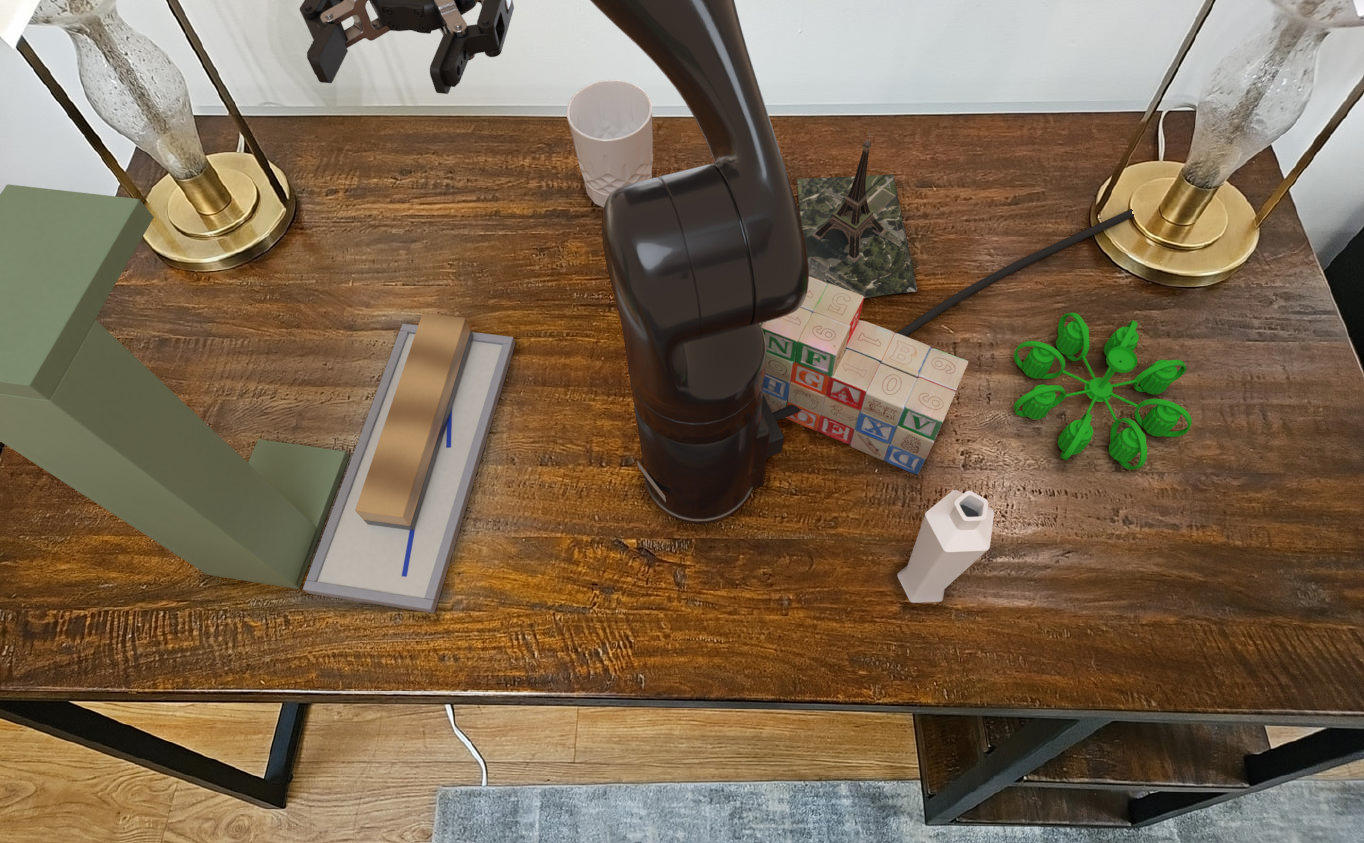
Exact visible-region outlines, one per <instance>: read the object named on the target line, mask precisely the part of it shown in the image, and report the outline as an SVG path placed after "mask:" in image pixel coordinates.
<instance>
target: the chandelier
mask: <svg viewBox="0 0 1364 843" xmlns="http://www.w3.org/2000/svg"><path fill="white" fill-rule="evenodd" d="M1069 317H1072V319H1074V320H1072V321H1070V322H1069V323H1068V324H1067V325H1065V324H1066V321H1067V319H1068V318H1069ZM1138 325H1139V322H1138V321H1136V320H1134V319H1132V320H1130V321H1129V323H1128V324H1127V325H1126V326H1121V327H1119V328H1118V329H1117V330H1115V331H1114V332H1113V333H1112V334H1111V335H1110V337H1109V338H1108V340H1107V341H1106V343H1105V344H1104V347H1103V353H1104V355H1105V356H1106V358H1105V361H1106V363H1105V364H1106V365H1107V366H1108V367H1107V370H1106V371H1105V373H1104V376H1103V377H1096V375H1095V373H1094V371H1093V369H1092V368H1091V365H1090V363H1089V361H1088V359H1087V356H1088V354H1089V350H1090V328H1089V326H1088V325H1087V324H1086V322H1085V320H1084V319H1083V317H1082V316H1081V315H1079V314H1078V313H1076V312H1072V311H1071V312H1067V313H1064V314H1063V315H1062V316H1060V318H1059V321H1058V325H1057V339H1056V341H1055V347H1056V348H1057V349H1056V348H1055V347H1054V346H1052V345H1050V344H1048V343H1045V342H1043V341H1038V340H1026V341H1024V342H1021V343H1019V344H1018V346H1017V347H1016V349H1015V350H1014V353H1013V359H1014V362H1015V364H1016V365H1017V366H1018V367H1019V369H1020V370H1022V371H1023V373H1024V374H1025V375H1026V376H1027V377H1029V378H1030V379H1036V380H1037V379H1042V380H1053V379H1056V378H1058V377H1060V376H1061V375H1062V374H1064V375H1065V376H1069V377H1070V378H1072V379H1075V380H1076V381H1079V382H1082V383H1083V384H1085V385H1084V390H1080V391H1075V392H1070V393H1069V392H1068V393H1066V391H1065V388H1064V387H1063V386H1062V385H1059V384H1050V385H1047V384H1038V385H1036V386H1034V387H1033V388H1032V389H1031V390H1030V391H1029V392H1027V393H1025V394H1024V395H1022V396H1021V397H1019V398H1018V399H1017V400H1016V401H1015V402H1014V404H1013V410H1014V413H1015V414H1016V416H1018V417H1022V418H1023V417H1024V418H1026V417H1027V418H1028V419H1030V420H1041V419H1043V418H1046V416H1048V414H1049V412H1050V411H1051V410H1052V409H1054V408H1055V407H1058V406H1059V405H1060V404H1061V403H1062V402H1063V401H1064V400H1065V399H1066V398H1069V397H1074V396H1079V395H1083V394H1086V395H1087V397H1088V398H1089V399H1091V402H1090V403H1089V405H1088V408H1087V410H1086V412H1084V414H1083V415H1082V417H1081V418H1080V419H1075V420H1073V421H1072V422H1070V423H1068V425H1067V426H1066V427H1064V429H1063V430H1062V432H1060V434H1059V435H1058V436H1057V438H1058V439H1057V445H1058V448H1059V449H1060V450H1061V453H1060V456H1059V457H1060V459H1062V460H1063V461H1068V460H1069V459H1070V458H1071V456H1074V455H1078V454H1081V453H1082V452H1083V450H1084V449H1085V448H1086V447H1087V446H1088V445H1089V443H1091V441H1092V438H1093V435H1094V429H1093V428H1094V427H1093V426H1092V425H1091V421H1092V419H1093V414H1091V411H1092V409H1093V407H1094V405H1095V403H1096V402H1098V403H1105V405H1106V408H1107V410H1108V411H1109V413H1110V415H1111V416H1112V419H1113V421H1114V422H1113V423H1112V424H1111V427H1110V431H1109V439H1110V442H1109V445H1108V453H1109V455H1110V457H1111V458H1113V459H1114V460H1115V461H1117V462H1118V463H1119V464H1120V465H1121V466H1122V468H1124V469H1127V470H1130V471H1133V470H1139V469H1140V468H1142V467H1144V465H1145V464H1146V462H1147V458H1148V445H1147V436H1146V434H1145V432H1146V433H1147V434H1149V435H1151V436H1153V437H1166V438H1178V437H1182V436H1184V435H1186V434H1187V433H1188V432H1189V431H1190V430H1191V427H1192V424H1193V419H1192V417H1191V414H1190V412H1188V411H1187V409H1185V408H1183V406H1181V405H1179V404H1177V403H1175V402H1173V401H1170V400H1167V399H1162V398H1148V399H1145V400H1142V401H1141V402H1139V403H1138V404H1137V403H1135V402H1134V401H1132V400H1128V399H1126V398H1124V397H1122V396H1120V395H1118V394H1116V393H1113V388H1117V387H1121V386H1127V385H1131V384H1132V387H1133V388H1134V390H1135V391H1136V392H1139V393H1147V394H1149V395H1154V396H1156V395H1160V394H1162V393H1164V392H1165V391H1166V389H1168V387H1169V386H1171V384H1172V383H1174V382H1175V381H1177V380H1179V379H1180V378H1181V377H1183V375H1184V374H1185V373H1186V371H1187V366H1186V364H1185V362H1184V360H1181V359H1171V360H1167V359H1158V360H1156V362H1154V363H1151V364H1150V365H1149V367H1148V368H1146V369H1144V370H1143V371H1141V372H1140V373H1139V374H1138V375H1137V376H1136V377H1135V378H1134V379H1131V380H1127V381H1123V382H1117V383H1113V384H1112V383H1111V382H1110V380H1111V379H1112V378H1113V376H1114V375H1115V374H1116V373H1120V374H1128V373H1130V372H1132V371H1133V370H1134V369H1135V368H1136V366H1137V365H1138V361H1139V360H1138V357H1137V354H1136V353H1135V352H1134V350H1135V349H1136V347H1137V346H1138V342H1139V339H1140V337H1139V333H1138V331H1136V330H1137V328H1138ZM1027 347H1033V348H1031V349H1030V350H1029V352H1028V353H1027V355H1026V356H1025V359H1024V360H1023V361H1022V360H1021V358H1020V356H1019V351H1020V350H1021V349H1023V348H1027ZM1080 351H1081V353H1080V354H1079V356H1078V357H1076V356H1074V355H1076V354H1078V353H1079V352H1080ZM1064 356H1065V358H1067V359H1068V360H1070V361H1072V362H1079V361H1083V362H1084V364H1085V366H1086V368H1087V370H1088V372H1089V374H1090V376H1091V379H1090V380H1089V379H1088V380H1086V379H1084V378H1082V377H1079V376H1077V375H1076V374H1073V373H1071V372H1068V371H1067V370H1065V369H1066V359H1065V358H1064ZM1055 358H1056V359H1057V360H1058V362H1059V364H1060V370H1059V371H1056V372H1053V373H1048V372H1049V370H1051V367H1052V366H1053V363H1054V362H1055ZM1177 367H1180V368H1179V369H1177ZM1056 392H1060V394H1059V395H1058V396H1057V395H1056ZM1112 397H1113V398H1115V399H1118V400H1120V401H1121V402H1124V403H1126V404H1128V405H1130V406H1132V407H1135V410H1134V414H1133V415H1134V419H1135V420H1136V421H1135V420H1133V419H1131V418H1129V417H1123V418H1118V417H1117V416H1116V414H1115V412H1114V410H1113V408H1112V405H1111V404H1110V402H1109V400H1110V399H1111V398H1112ZM1151 405H1153V407H1152V408H1151V409H1150V410H1149V411H1148V412H1147V414H1145V416H1144V418H1142V416H1141V414H1140V409H1141V408H1143V407H1146V406H1151ZM1021 406H1022V410H1020V407H1021ZM1181 416H1182V417H1183V418H1184V420H1185V421H1186V424H1187V426H1186V427H1185V428H1184V429H1183V428H1182V429H1181V430H1174V431H1171V430H1173V429H1174V428H1175V426H1177V424H1178V422H1179V420H1180V418H1181ZM1136 422H1137V423H1136ZM1121 423H1125V424H1127V425H1128V426H1129V427H1126V428H1125V429H1122V430H1120V432H1118V430H1119V426H1120V424H1121ZM1142 428H1143V429H1144V431H1145V432H1144V431H1143V430H1142ZM1138 455H1139V459H1138V462H1137V464H1136V465H1132V464H1130V462H1131V461H1132V460H1133V459H1135V458H1136V457H1137V456H1138Z"/></svg>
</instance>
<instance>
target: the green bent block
mask: <svg viewBox="0 0 1364 843" xmlns="http://www.w3.org/2000/svg"><path fill="white" fill-rule="evenodd" d="M153 220H154V215H153V214H152V213H151V212H150V210H149V209H148V207H146V205H145V204H144V203H143V202H142V200H141V199H139V198H133V197H125V196H116V195H115V196H114V195H107V194H97V193H88V192H80V191H71V190H63V189H53V188H43V187H35V186H34V187H33V186H28V185H27V186H26V185H17V184H6V185H5V186H4V188H3V189H2V191H1V192H0V443H2V444H3V445H6V446H7V447H8V448H10V449H11V450H13V451H14V452H16V453H18V454H19V455H21V456H22V457H24V458H25V459H27V460H29V461H30V462H32V463H33V464H35V465H36V466H38V467H40V468H41V469H43V470H44V471H46V472H47V473H49V474H50V475H52V476H53V477H55V478H57V479H58V480H59V481H61V482H63V483H64V484H66V485H67V486H69V487H71V488H72V489H73V490H75V491H77V492H78V493H80V494H81V495H83V496H84V497H85V498H87V499H89V500H91V501H92V502H94V503H95V504H97V505H98V506H100V507H102V508H103V509H105V510H106V511H108V512H109V513H110V514H112V515H114V516H115V517H117V518H118V519H120V520H122V521H123V522H125V523H126V524H128V525H129V526H131V527H132V528H134V529H136V530H137V531H139V532H140V533H142V534H143V535H145V536H147V537H148V538H150V539H151V540H153V541H154V542H156V543H157V544H159V545H160V546H162V547H163V548H165V549H167V550H168V551H169V552H171V553H173V554H174V555H176V556H177V557H179V558H180V559H182V560H184V561H185V562H187V563H188V564H190V565H192V566H193V567H194V568H196V569H198V570H199V571H200V572H202V573H204V574H205V575H207V576H212V577H220V578H226V579H231V580H239V581H244V582H251V583H257V584H264V585H268V586H269V585H270V586H276V587H284V588H289V589H294V590H295V589H296V590H300V589H301V587H302V584H303V581H304V579H305V576H306V573H307V571H308V567H309V565H310V562H311V560H312V558H313V554H314V552H315V549H316V546H317V544H318V542H319V539H320V536H321V533H322V532H323V528H324V525H325V523H326V520H327V517H328V515H329V513H330V509H331V507H332V504H333V502H334V499H335V496H336V493H337V491H338V489H339V487H340V486H339V485H340V483H341V480H342V478H343V475H344V472H345V471H346V468H347V464H348V462H349V459H350V458H351V457H350V455H349V454H348V452H347V451H346V450H339V449H332V448H324V447H318V446H310V445H304V444H303V445H302V444H297V443H288V442H283V441H274V440H268V439H260V438H258V439H257V441H256V443H255V445H254V448H253V450H252V453H251V454H250V457H249V459H248V461H247V460H246V459H245V458H243V456H241V455H240V454H239V452H238V451H236V450H235V449H234V448H233V447H232V446H231V445H230V444H229V443H228V442H226V441H225V440H224V439H223V438H222V436H220V435H219V434H218V433H217V432H216V431H215V430H214V429H213V428H212V427H211V426H209V425H208V424H207V423H206V422H205V421H204V420H203V419H202V418H201V417H200V416H199V415H198V414H197V413H196V412H195V411H193V409H191V408H190V407H189V406H188V405H187V404H186V403H185V402H184V401H183V400H182V399H181V398H180V397H178V395H176V393H174V392H173V391H172V390H171V389H170V388H169V387H168V386H167V385H166V384H165V383H164V382H163V381H162V380H160V378H158V376H156V375H155V374H154V373H153V371H152V370H150V369H149V368H148V367H147V366H146V365H145V364H144V363H142V362H141V360H139V359H138V358H137V356H136V355H134V354H133V353H132V352H131V351H130V350H129V349H128V348H127V347H125V346H124V344H122V343H121V342H120V341H119V340H118V339H117V338H116V337H115V336H114V335H113V334H112V333H110V331H109V330H108V329H107V328H105V326H103V325H102V324H101V323H100V322H99V321H98V320H97V318H98V316H99V314H100V312H101V310H102V308H103V307H104V305H105V304H106V302H107V300H108V298H109V296H110V294H111V293H112V290H113V289H114V288H115V286H116V284H117V282H118V281H119V279H120V277H121V275H122V274H123V272H124V270H125V268H126V267H127V265H128V263H129V262H130V260H131V259H132V256H133V255H134V253H135V251H136V249H137V248H138V246H139V244H140V243H141V240H142V239H143V237H144V235H145V233H146V232H147V231H148V228H149V227H150V225H151V223H152V221H153Z"/></svg>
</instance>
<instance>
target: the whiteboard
mask: <svg viewBox="0 0 1364 843" xmlns="http://www.w3.org/2000/svg"><path fill="white" fill-rule="evenodd" d="M418 325H419V324H418ZM418 325H417V324H409V323H402V324H401V326H400V329H399V332H398V333H397V337H396V340H395V342H394V345H393V347H392V350H391V353H390V355H389V358H388V361H387V363H386V366H385V369H384V370H383V374H382V376H381V379H380V382H379V385H378V388H377V390H376V393H375V395H374V398H373V401H372V403H371V407H370V409H369V411H368V414H367V416H366V419H365V422H364V425H363V427H362V430H361V432H360V435H359V438H358V441H357V443H356V446H355V447H354V448H355V449H354V451H353V453H352V457H351V459H350V462H349V464H348V468H347V470H346V472H345V475H344V477H343V480H342V484H341V486H340V488H339V491H338V494H337V496H336V499H335V501H334V504H333V507H332V509H331V512H330V514H329V517H328V520H327V523H326V526H325V528H324V531H323V533H322V536H321V539H320V542H319V544H318V547H317V549H316V552H315V554H314V558H313V560H312V563H311V566H310V568H309V571H308V573H307V576H306V580H305V582H304V583H303V584H304V585H303V587H302V590H303V591H304V592H306V593H307V594H310V595H315V596H322V597H328V598H335V599H341V600H347V601H353V602H360V603H366V604H367V603H368V604H373V605H378V606H386V607H392V608H397V609H403V610H404V609H405V610H410V611H418V612H423V613H428V614H429V613H430V614H435V613H436V610H437V606H438V603H439V600H440V597H441V594H442V590H443V587H444V584H445V581H446V577H447V574H448V570H449V567H450V565H451V561H452V557H453V554H454V551H455V548H456V547H455V546H456V544H457V540H458V538H459V534H460V530H461V526H462V524H463V520H464V518H465V514H466V510H467V507H468V503H469V500H470V497H471V494H472V491H473V486H474V483H475V481H476V477H477V473H478V470H479V467H480V464H481V461H482V456H483V454H484V450H485V446H486V444H487V440H488V438H489V434H490V430H491V427H492V424H493V420H494V417H495V413H496V410H497V407H498V405H499V404H498V403H499V400H500V397H501V394H502V391H503V387H504V385H505V382H506V381H505V380H506V377H507V373H508V370H509V367H510V363H511V360H512V356H513V353H514V350H515V347H516V341H515V338H514V337H513V336H507V335H500V334H491V333H483V332H475V331H472V334H473V336H474V337H473V340H472V343H471V346H470V350H469V353H468V356H467V360H466V363H465V366H464V369H463V373H462V376H461V379H460V382H459V386H458V389H457V392H456V395H455V399H454V402H453V405H452V409H451V412H450V415H449V418H448V422H447V425H446V428H445V431H444V435H443V438H442V441H441V444H440V448H439V451H438V454H437V458H436V461H435V464H434V467H433V471H432V474H431V477H430V480H429V484H428V487H427V490H426V494H425V497H424V500H423V503H422V507H421V510H420V513H419V516H418V520H417V523H416V526H415V529H414V531H413V530H405V529H398V528H390V527H383V526H376V525H368V524H367V523H366V522H365V521H364V520H363V519H362V518H361V517H360V516H359V515H358V514H357V512H356V511H355V509H356V506H357V503H358V500H359V497H360V494H361V492H362V489H363V486H364V483H365V480H366V477H367V474H368V471H369V468H370V465H371V462H372V459H373V456H374V454H375V451H376V448H377V445H378V442H379V439H380V436H381V433H382V430H383V427H384V424H385V421H386V418H387V416H388V413H389V410H390V407H391V404H392V401H393V398H394V395H395V392H396V389H397V386H398V383H399V380H400V378H401V375H402V372H403V369H404V366H405V363H406V360H407V357H408V354H409V351H410V348H411V345H412V342H413V340H414V337H415V334H416V331H417V328H418Z"/></svg>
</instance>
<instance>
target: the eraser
mask: <svg viewBox="0 0 1364 843" xmlns="http://www.w3.org/2000/svg"><path fill="white" fill-rule="evenodd" d="M472 332H473V331H472V329H471V327H470V324H469V323H468V320H467V318H466V317H461V316H452V315H443V314H434V313H425V312H423V313H422V314H421V317H420V319H419V322H418V328H417V331H416V334H415V337H414V340H413V342H412V345H411V348H410V351H409V354H408V357H407V360H406V363H405V366H404V369H403V372H402V375H401V378H400V380H399V383H398V386H397V389H396V392H395V395H394V398H393V401H392V404H391V407H390V410H389V413H388V416H387V418H386V421H385V424H384V427H383V430H382V433H381V436H380V439H379V442H378V445H377V448H376V451H375V454H374V456H373V459H372V462H371V465H370V468H369V471H368V474H367V477H366V480H365V483H364V486H363V489H362V492H361V494H360V497H359V500H358V503H357V506H356V509H355V511H356V512H357V514H358V515H359V516H360V517H361V518H362V519H363V520H364V521H365V522H366V523H367V524H368V525H376V526H383V527H390V528H398V529H405V530H413V531H414V529H415V526H416V523H417V520H418V516H419V513H420V510H421V507H422V503H423V500H424V497H425V494H426V490H427V487H428V484H429V480H430V477H431V474H432V471H433V467H434V464H435V461H436V458H437V454H438V451H439V448H440V444H441V441H442V438H443V435H444V431H445V428H446V425H447V422H448V418H449V415H450V412H451V409H452V405H453V402H454V399H455V395H456V392H457V389H458V386H459V382H460V379H461V376H462V373H463V369H464V366H465V363H466V360H467V356H468V353H469V350H470V346H471V343H472V340H473V337H474V336H473V334H472Z"/></svg>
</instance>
